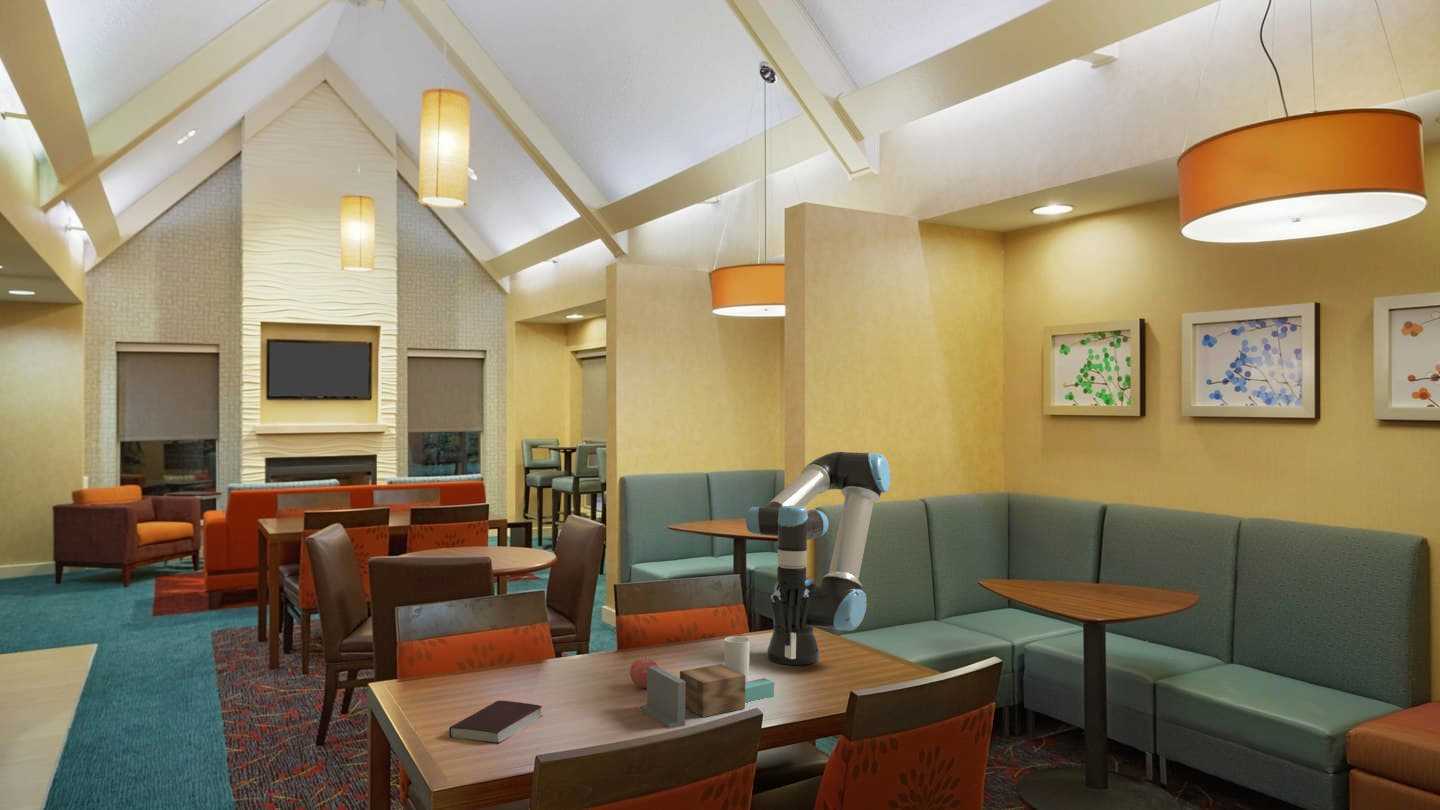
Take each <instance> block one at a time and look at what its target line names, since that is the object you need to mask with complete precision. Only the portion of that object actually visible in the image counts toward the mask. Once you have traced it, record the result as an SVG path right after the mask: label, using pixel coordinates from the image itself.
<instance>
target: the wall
mask: <svg viewBox="0 0 1440 810" xmlns="http://www.w3.org/2000/svg"><path fill="white" fill-rule="evenodd" d="M685 686H686V681H684V680H682V679H680V677H678V676H676V675H674V674H672V673H670V672H668V671H667V670H665V669H662V668H661V667H659V666H658V667H657V666H655V665H654V666H648V667H647V688H646V704H643V705H641V704H640V705H639V710H640V711H642V712H643V713H644V714H646V715H648V716H649V717H651V718H653V719H654V720H656V721H658V722H659V723H661V724H662V725H664V726H665V727H667V728H669V729H671V728H672V729H673V728H677V727H682V726H683V727H684V726H686V707H685Z"/></svg>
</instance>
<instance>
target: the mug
mask: <svg viewBox="0 0 1440 810" xmlns="http://www.w3.org/2000/svg"><path fill="white" fill-rule="evenodd" d="M750 640H751V639H750V638H748V637H745V636H741V635H739V636H736V635H735V636H728V637H725V638H724V642H723V644H724V649H723V650H724V657H723V658H724V666H726V667H728V668H731V669H733V670H735V671H737V672H739V673H742V674H744V675H745V682H749V680H750V679H749V676H750V648H751V647H750V646H751V643H750V642H751V641H750Z"/></svg>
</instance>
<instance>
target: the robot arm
mask: <svg viewBox="0 0 1440 810" xmlns="http://www.w3.org/2000/svg"><path fill="white" fill-rule="evenodd" d="M890 487H891V469H890V466H889V462H888V460H887V458H886V457H885V456H884V454H881V453H875V452H873V453H872V452H854V451H853V452H851V451H850V452H849V451H835V452H834V451H833V452H830V453H827V454H825V455H822V456H820V457H818V458H816V459H814V460H812V461H811V462H810V463H807V465H805V467H804V468H803V469H802V471H801V473H800V475H799V476H798V477H797V478H796V479H794V480H793V482H791V483H790V484H789V485H787V487H786V488H783V490H782V491H780V492H779V494H777V495H776V496H775V497H774V498H773V499H772V500H771V501H769V502H767V504H766V505H765V506H763V507H762V506H752V507H750V508H749V509H748V511H747V513H746V516H745V525H746V529H747V531H748V532H749V533H751V534H754V535H760V536H769V537H770V536H771V537H773V536H774V537H777V542H778V543H777V564H778V566H777V567H776V568H777V569H776V572H777V573H776V579H777V582H775V584H774V587H773V589H774V590H773V594H772V593H770V594H769V595H768V599H769V600H770V603H771V604H772V605H771V606H772V610H773V631H772V636H771V638H770V642H769V644H768V647H767V652H766V653H767V654H766V655H767V656H766V657H767V659H768V661H771V662H773V663H777V664H782V665H788V666H803V665H805V666H806V665H809V664H810V665H811V664H814V663H817V662H818V661H819V660H820V649H819V646H818V643H817V640H816V636H815V633H814V627H820V628H825V629H826V628H827V629H832V630H837V631H854V630H856V629H857V628H858V627H859V626H860V624H861V623H862V622H863V619H864V617H865V614H866V610H867V601H868V600H867V595H866V593H865V591H863V585H862V583H861V582H860V580H859V577H860V573H861V567H862V563H863V558H864V554H865V553H864V552H865V548H866V542H867V537H868V533H869V527H870V523H871V519H872V513H873V508H874V505H875V504H876V503H878V502H879V501H880V499H881V494H885V493H887V492H888V491H889V490H890ZM829 490H840V492H841V494H842V495H843V497H844V501H843V506H842V511H841V516H840V520H839V524H838V529H837V534H836V538H835V543H834V548H833V552H832V556H831V557H832V558H831V562H830V566H829V571H828V573H827V574H825V575H823V577H822V579H821V583H820V584H815V582H816V581H815V580H814V578H812V577H807V568H806V566H807V564H808V563H807V562H808V561H807V560H808V559H807V558H808V556H807V554H808V552H807V551H808V550H807V549H808V547H807V545H808V541H809V540H813V539H814V540H817V539H819V538H820V537H824V535H826V533H827V531H828V530H829V526H830V525H829V523H830V522H829V519H828V517H827V515H826V514H825V512H823V511H821V510H820V509H819V510H818V509H810V510H808V509H807V507H806V505H808V504H809V503H810V502H811V501H812V500H813V499H814V498H815V497H816V496H817V495H821V494H824V493H826V492H827V491H829Z"/></svg>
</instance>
